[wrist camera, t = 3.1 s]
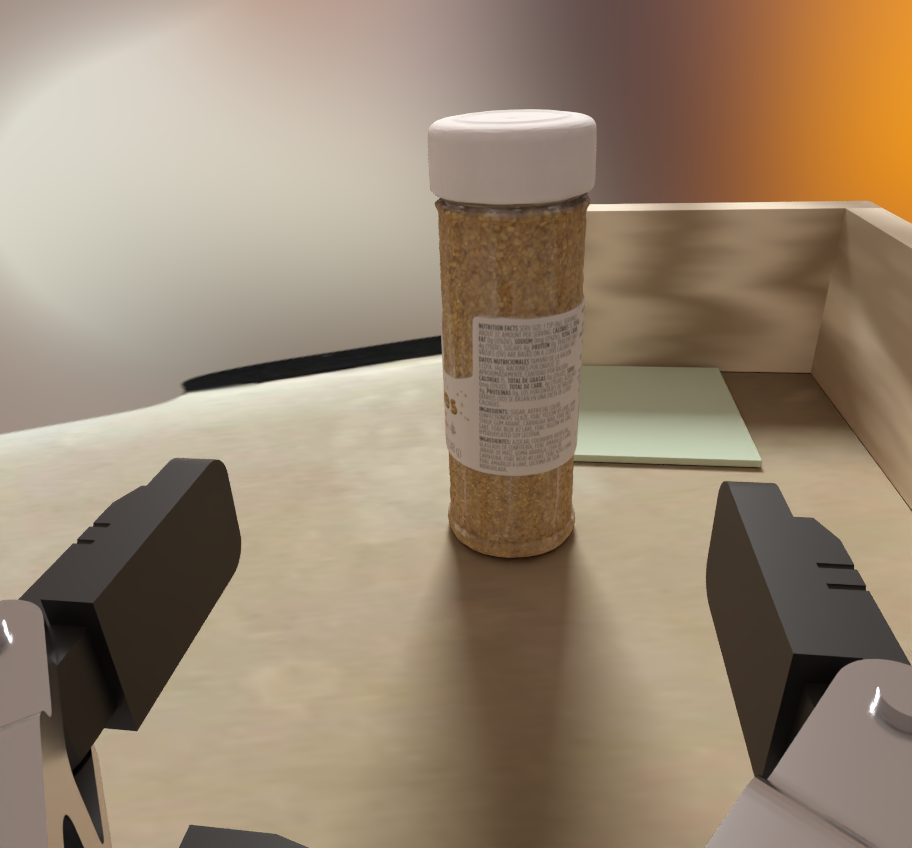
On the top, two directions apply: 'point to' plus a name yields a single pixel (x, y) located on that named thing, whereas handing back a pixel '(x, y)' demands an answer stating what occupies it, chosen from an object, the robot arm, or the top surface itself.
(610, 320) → the light wood l-shaped panel
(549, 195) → the sprinkles bottle
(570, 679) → the top surface
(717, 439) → the pad
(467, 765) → the top surface
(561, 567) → the top surface
